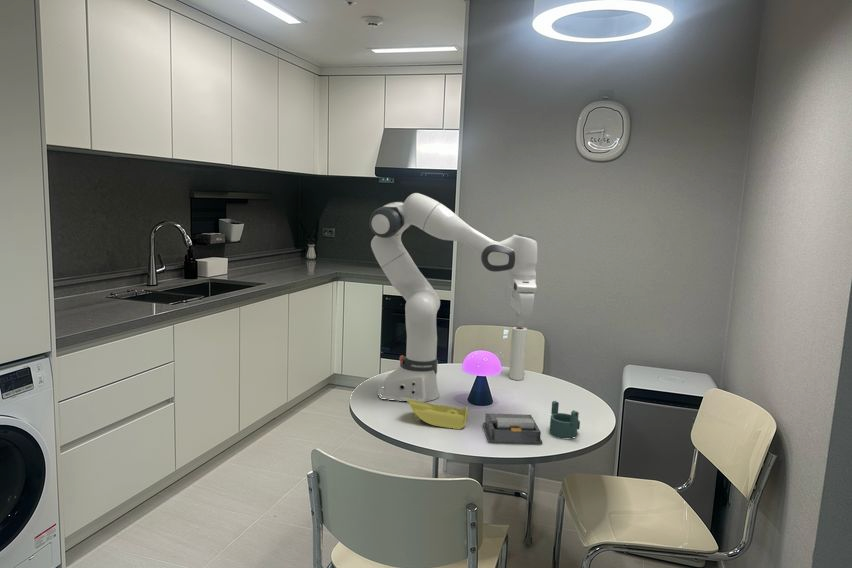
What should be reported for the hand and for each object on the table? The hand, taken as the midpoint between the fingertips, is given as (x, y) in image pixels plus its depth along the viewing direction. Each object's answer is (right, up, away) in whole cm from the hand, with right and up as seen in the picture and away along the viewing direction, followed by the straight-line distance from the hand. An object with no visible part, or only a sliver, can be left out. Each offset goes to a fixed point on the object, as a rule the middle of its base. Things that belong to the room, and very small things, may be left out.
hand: (519, 324), depth 185 cm
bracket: (+12, -33, -11) cm, 37 cm away
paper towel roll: (+7, -26, +45) cm, 52 cm away
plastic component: (-27, -31, -4) cm, 42 cm away
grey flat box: (-5, -33, -14) cm, 36 cm away
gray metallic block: (-4, -33, -17) cm, 37 cm away
